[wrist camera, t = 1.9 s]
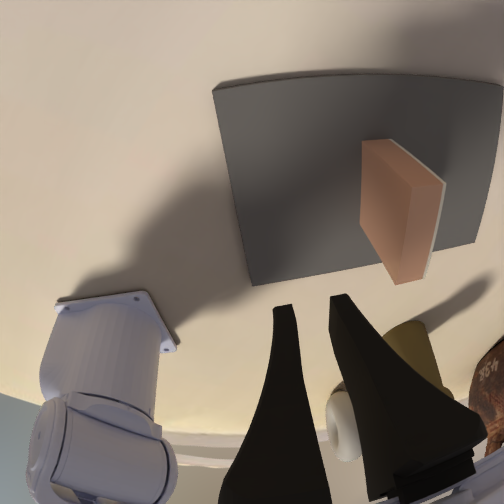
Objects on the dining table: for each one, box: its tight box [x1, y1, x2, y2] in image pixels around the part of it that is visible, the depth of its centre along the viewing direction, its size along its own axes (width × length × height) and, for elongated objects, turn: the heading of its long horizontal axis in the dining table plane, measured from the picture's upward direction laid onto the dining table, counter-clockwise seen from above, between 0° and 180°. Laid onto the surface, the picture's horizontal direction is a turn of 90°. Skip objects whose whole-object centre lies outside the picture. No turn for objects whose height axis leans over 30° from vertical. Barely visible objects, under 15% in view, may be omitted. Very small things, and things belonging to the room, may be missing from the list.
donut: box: [326, 391, 362, 462], centre depth 35 cm, size 10×4×10 cm, turn 5°
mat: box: [212, 74, 504, 286], centre depth 19 cm, size 20×14×1 cm
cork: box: [382, 321, 454, 399], centre depth 27 cm, size 6×6×11 cm
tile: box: [360, 139, 446, 285], centre depth 17 cm, size 2×6×6 cm, turn 8°
